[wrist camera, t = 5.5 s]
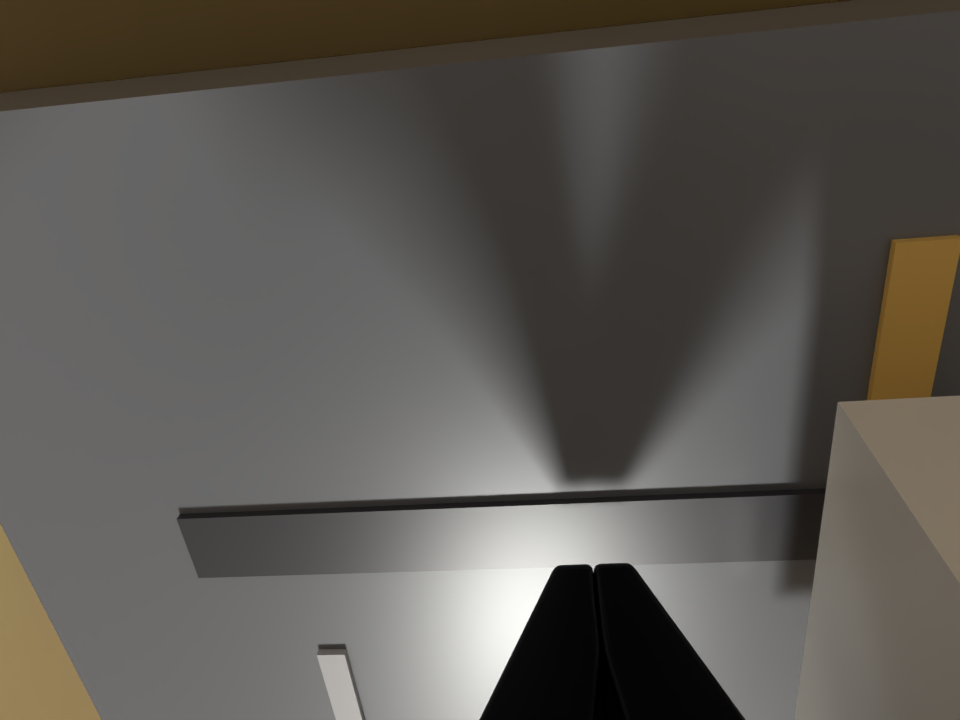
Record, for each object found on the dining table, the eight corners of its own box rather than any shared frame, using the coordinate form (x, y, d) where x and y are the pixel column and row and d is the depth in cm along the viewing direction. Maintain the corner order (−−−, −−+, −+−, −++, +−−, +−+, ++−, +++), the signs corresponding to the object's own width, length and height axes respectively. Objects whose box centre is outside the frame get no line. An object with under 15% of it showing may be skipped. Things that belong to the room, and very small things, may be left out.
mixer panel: (1627, -85, 7) (1996, -96, 5) (1225, 684, 12) (1345, 811, 11) (-62, 99, 9) (-211, 135, 7) (191, 696, 14) (139, 805, 13)
